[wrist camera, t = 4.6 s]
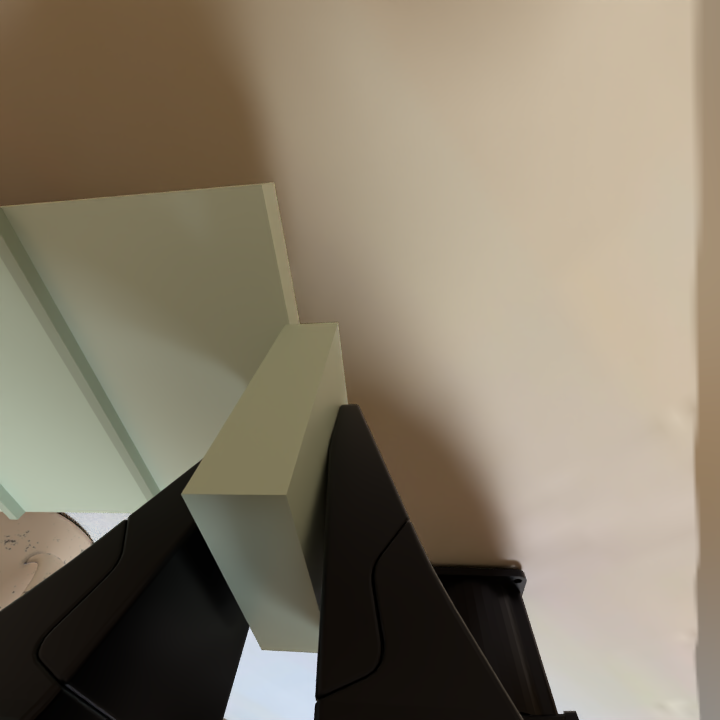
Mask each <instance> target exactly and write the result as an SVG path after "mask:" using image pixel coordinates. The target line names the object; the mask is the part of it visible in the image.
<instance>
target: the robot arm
mask: <svg viewBox="0 0 720 720" xmlns="http://www.w3.org/2000/svg"><path fill="white" fill-rule="evenodd" d="M201 461H202V459H201V460H200V461H199V462H198V463H196V464H195V465H194V466H192V467H191V468H190V469H189V470H187V471H186V472H185V473H183V474H182V475H181V476H180V477H178V478H177V479H176V480H175V481H173V482H172V483H171V484H169V485H168V486H167V487H166V488H164V489H163V490H162V491H160V492H159V493H158V494H157V495H155V496H154V497H153V498H151V499H150V500H149V501H148V502H146V503H145V504H144V505H142V506H141V507H140V508H139V509H137V510H136V511H135V512H133V513H132V514H131V515H130V516H129V517H128V520H123V521H122V522H121V523H119V524H118V525H117V526H115V527H114V528H113V529H112V530H110V531H109V532H108V533H106V534H105V535H104V536H103V537H101V538H100V539H99V540H97V541H96V542H95V543H93V544H92V545H91V546H89V547H88V548H87V549H85V550H84V551H83V552H81V553H80V554H79V555H77V556H76V557H75V558H74V559H72V560H71V561H70V562H68V563H67V564H65V565H64V566H63V567H61V568H60V569H58V570H57V571H56V572H54V573H53V574H51V575H50V576H49V577H47V578H46V579H45V580H43V581H42V582H40V583H39V584H38V585H36V586H35V587H33V588H32V589H31V590H29V591H28V592H26V593H25V594H24V595H22V596H21V597H19V598H18V599H16V600H15V601H13V602H12V603H11V604H9V605H8V606H6V607H5V608H3V609H2V610H1V611H0V720H223V717H224V714H225V710H226V707H227V703H228V700H229V696H230V693H231V689H232V686H233V682H234V679H235V675H236V672H237V668H238V665H239V661H240V658H241V654H242V651H243V647H244V644H245V640H246V637H247V633H248V630H249V624H248V622H247V620H246V619H245V617H244V615H243V613H242V611H241V609H240V607H239V605H238V603H237V601H236V599H235V597H234V595H233V593H232V592H231V590H230V588H229V586H228V584H227V582H226V580H225V578H224V576H223V574H222V572H221V570H220V568H219V566H218V565H217V563H216V561H215V559H214V557H213V555H212V553H211V551H210V549H209V547H208V545H207V543H206V541H205V539H204V538H203V536H202V534H201V532H200V530H199V528H198V526H197V524H196V522H195V520H194V518H193V516H192V514H191V512H190V511H189V509H188V507H187V505H186V503H185V501H184V499H183V497H182V495H181V493H182V492H183V490H184V489H185V487H186V485H187V484H188V482H189V480H190V479H191V477H192V476H193V474H194V472H195V471H196V469H197V467H198V466H199V464H200V463H201ZM525 585H526V577H525V574H524V572H523V571H521V570H517V569H479V568H442V567H432V565H431V562H430V560H429V558H428V556H427V554H426V552H425V550H424V548H423V546H422V544H421V542H420V540H419V538H418V536H417V533H416V531H415V529H414V527H413V524H412V523H411V522H410V518H409V516H408V514H407V512H406V509H405V507H404V505H403V503H402V500H401V498H400V496H399V494H398V492H397V489H396V487H395V485H394V483H393V480H392V478H391V476H390V474H389V471H388V469H387V467H386V465H385V463H384V460H383V458H382V456H381V454H380V451H379V449H378V447H377V445H376V442H375V440H374V438H373V436H372V434H371V431H370V429H369V427H368V425H367V422H366V420H365V418H364V416H363V413H362V411H361V409H360V407H359V405H357V404H343V405H341V406H340V408H339V411H338V415H337V418H336V422H335V425H334V429H333V432H332V436H331V440H330V447H329V463H328V480H327V498H326V516H325V533H324V551H323V569H322V587H321V604H320V622H319V640H318V657H317V675H316V693H315V697H316V701H317V702H316V704H315V713H314V720H579V719H578V716H577V713H576V711H563V712H564V714H558V712H557V709H556V705H555V702H554V699H553V696H552V693H551V689H550V686H549V683H548V680H547V676H546V673H545V670H544V667H543V663H542V660H541V657H540V654H539V650H538V647H537V644H536V641H535V637H534V634H533V631H532V628H531V624H530V621H529V618H528V615H527V612H526V608H525V605H524V602H523V599H522V594H523V591H524V588H525Z"/></svg>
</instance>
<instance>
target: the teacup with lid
mask: <svg viewBox="0 0 720 720" xmlns="http://www.w3.org/2000/svg"><path fill="white" fill-rule="evenodd" d="M91 545H92V542H91V540H90V539H89V537H88V536H87V535H86V534H85V533H84V532H83V531H82V530H81V529H80V528H79V527H78V526H77V525H75V524H74V523H73V522H71V521H70V520H68V519H67V518H65V517H64V516H62V515H60V514H58V513H56V512H25V513H24V514H23V515H22V516H21V517H20V518H19V519H18V520H13V519H9V518H8V517H7V516H6V515H5V514H4V513H3V512H0V611H1V610H2V609H3V608H5V607H6V606H8V605H9V604H11V603H12V602H13V601H15V600H16V599H18V598H19V597H21V596H22V595H24V594H25V593H26V592H28V591H29V590H31V589H32V588H33V587H35V586H36V585H38V584H39V583H40V582H42V581H43V580H45V579H46V578H47V577H49V576H50V575H51V574H53V573H54V572H56V571H57V570H58V569H60V568H61V567H63V566H64V565H65V564H67V563H68V562H70V561H71V560H72V559H74V558H75V557H76V556H77V555H79V554H80V553H81V552H83V551H84V550H85V549H87V548H88V547H89V546H91Z"/></svg>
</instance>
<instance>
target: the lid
mask: <svg viewBox="0 0 720 720" xmlns="http://www.w3.org/2000/svg"><path fill="white" fill-rule="evenodd" d="M343 404H348V400H347V392H346V384H345V375H344V367H343V359H342V351H341V342H340V334H339V326H338V322H333V323H311V324H300V321H299V315H298V310H297V304H296V299H295V293H294V288H293V282H292V277H291V271H290V266H289V261H288V255H287V250H286V244H285V239H284V233H283V228H282V222H281V217H280V211H279V206H278V200H277V195H276V190H275V184H274V182H271V183H259V184H248V185H236V186H225V187H214V188H202V189H191V190H179V191H168V192H157V193H145V194H134V195H122V196H111V197H99V198H88V199H77V200H65V201H54V202H42V203H31V204H20V205H8V206H0V512H3V513H4V514H5V515H6V516H7V517H8V518H9V519H13V520H18V519H19V518H20V517H21V516H22V515H23V514H24V513H25V512H75V513H133V512H135V511H136V510H137V509H139V508H140V507H141V506H142V505H144V504H145V503H146V502H148V501H149V500H150V499H151V498H153V497H154V496H155V495H157V494H158V493H159V492H160V491H162V490H163V489H164V488H166V487H167V486H168V485H169V484H171V483H172V482H173V481H175V480H176V479H177V478H178V477H180V476H181V475H182V474H183V473H185V472H186V471H187V470H189V469H190V468H191V467H192V466H194V465H195V464H196V463H198V462H199V461H200V460H201V459H202V461H201V463H200V464H199V466H198V467H197V469H196V471H195V472H194V474H193V476H192V477H191V479H190V480H189V482H188V484H187V485H186V487H185V489H184V490H183V492H182V493H181V495H182V497H183V499H184V501H185V503H186V505H187V507H188V509H189V511H190V512H191V514H192V516H193V518H194V520H195V522H196V524H197V526H198V528H199V530H200V532H201V534H202V536H203V538H204V539H205V541H206V543H207V545H208V547H209V549H210V551H211V553H212V555H213V557H214V559H215V561H216V563H217V565H218V566H219V568H220V570H221V572H222V574H223V576H224V578H225V580H226V582H227V584H228V586H229V588H230V590H231V592H232V593H233V595H234V597H235V599H236V601H237V603H238V605H239V607H240V609H241V611H242V613H243V615H244V617H245V619H246V620H247V622H248V624H249V626H250V628H251V630H252V632H253V634H254V636H255V638H256V640H257V642H258V644H259V646H260V647H261V649H262V650H272V651H291V652H310V653H318V640H319V622H320V604H321V587H322V569H323V551H324V533H325V516H326V498H327V480H328V463H329V447H330V440H331V436H332V432H333V429H334V425H335V422H336V418H337V415H338V411H339V408H340V406H341V405H343Z"/></svg>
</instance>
